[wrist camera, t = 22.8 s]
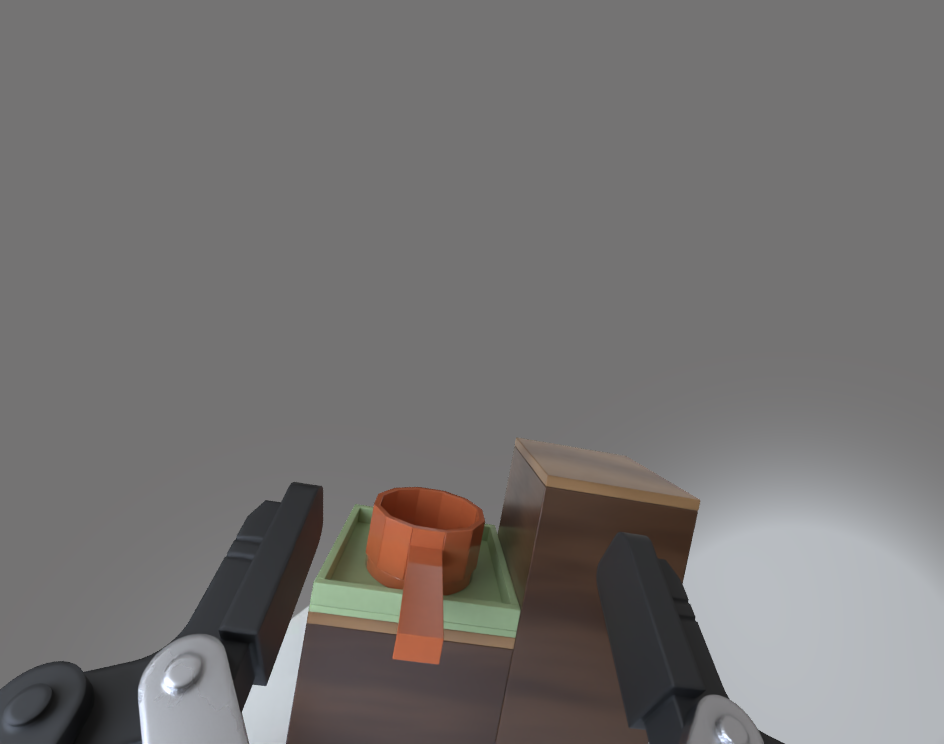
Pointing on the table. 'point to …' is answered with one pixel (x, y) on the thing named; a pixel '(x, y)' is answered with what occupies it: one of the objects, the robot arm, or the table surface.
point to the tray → (360, 595)
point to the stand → (538, 633)
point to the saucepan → (423, 560)
